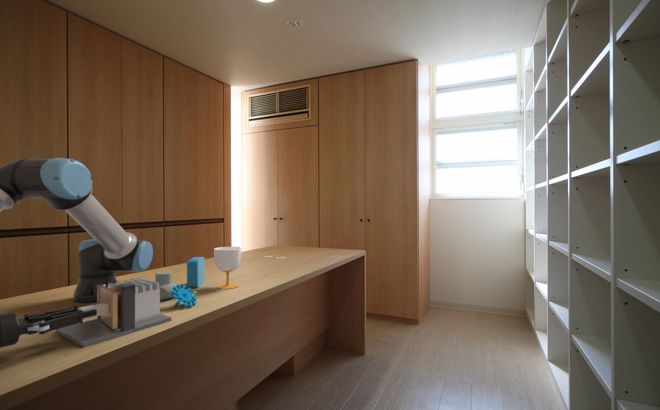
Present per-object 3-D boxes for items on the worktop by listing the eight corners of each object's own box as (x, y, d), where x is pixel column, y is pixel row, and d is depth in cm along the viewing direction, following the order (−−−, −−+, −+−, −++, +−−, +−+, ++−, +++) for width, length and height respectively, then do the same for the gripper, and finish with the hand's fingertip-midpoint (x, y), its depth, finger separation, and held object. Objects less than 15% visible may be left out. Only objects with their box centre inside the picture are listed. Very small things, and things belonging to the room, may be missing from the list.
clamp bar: (96, 317, 105) (96, 285, 105) (104, 315, 107) (104, 283, 107) (110, 330, 95) (110, 294, 95) (119, 328, 96) (119, 292, 96)
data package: (194, 282, 159) (194, 256, 159) (204, 282, 160) (204, 256, 159) (186, 288, 147) (186, 261, 147) (197, 288, 148) (197, 260, 148)
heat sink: (106, 319, 105) (107, 283, 105) (139, 310, 114) (139, 277, 114) (126, 326, 99) (126, 289, 99) (159, 317, 107) (160, 282, 107)
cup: (246, 285, 154) (246, 247, 154) (229, 291, 143) (229, 250, 143) (226, 282, 158) (226, 246, 158) (207, 288, 148) (207, 249, 148)
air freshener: (143, 301, 128) (144, 274, 128) (156, 295, 137) (156, 270, 137) (172, 301, 128) (172, 275, 128) (182, 295, 136) (182, 270, 136)
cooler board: (55, 332, 97) (55, 285, 97) (141, 310, 117) (141, 271, 117) (83, 347, 87) (83, 294, 87) (171, 320, 107) (171, 277, 107)
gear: (182, 306, 116) (168, 283, 119) (171, 318, 117) (158, 294, 120) (204, 302, 126) (191, 281, 130) (194, 313, 127) (182, 291, 130)
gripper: (-15, 341, 82) (95, 316, 102) (1, 356, 74) (117, 326, 94) (-14, 310, 83) (96, 291, 102) (2, 322, 75) (118, 298, 94)
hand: (106, 308), depth 98 cm, fingers closed
